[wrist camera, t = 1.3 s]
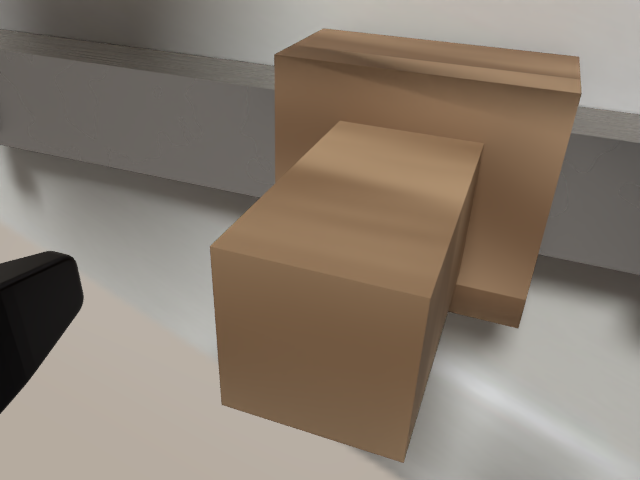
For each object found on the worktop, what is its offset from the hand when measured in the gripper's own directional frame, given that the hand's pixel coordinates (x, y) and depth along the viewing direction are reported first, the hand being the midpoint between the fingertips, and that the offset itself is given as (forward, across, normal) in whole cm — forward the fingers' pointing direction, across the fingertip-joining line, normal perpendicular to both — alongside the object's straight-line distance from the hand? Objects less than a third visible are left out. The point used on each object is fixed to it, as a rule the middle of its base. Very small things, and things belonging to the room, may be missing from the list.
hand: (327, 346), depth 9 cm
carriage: (+8, 0, 0) cm, 9 cm away
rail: (+8, +4, 0) cm, 9 cm away
